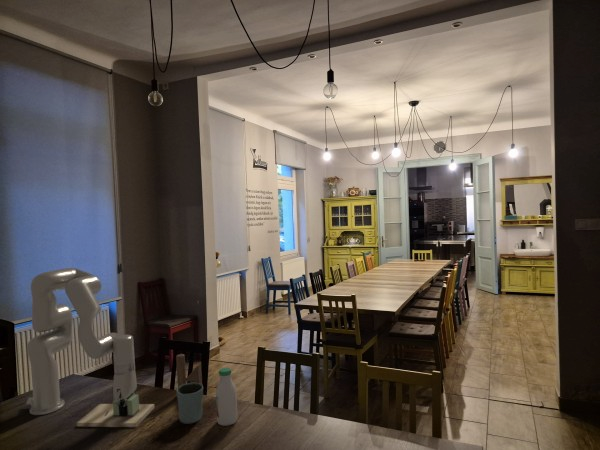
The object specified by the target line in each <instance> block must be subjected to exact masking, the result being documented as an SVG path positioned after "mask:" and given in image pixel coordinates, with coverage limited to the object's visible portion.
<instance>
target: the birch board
mask: <svg viewBox="0 0 600 450" xmlns="http://www.w3.org/2000/svg"><path fill="white" fill-rule="evenodd" d="M154 409H155V404H154V403H139V411H138V412H137V413H136V414H135V415H134V416H133V417H114V414H113V403H100V404H98V405H96V406H95V407H94V408H93V409H91V410H90V411H89V412H88V413H86V415H84V416H83V417H82V418H81V419H79V420H78V421H76V427H88V428H89V427H93V428H94V427H96V428H97V427H98V428H99V427H101V428H104V427H105V428H108V427H109V428H137V427H138V426H139V425H140V423H142V422H143V421H144V420H145V418H146V417H147V416H148V415H150V413H151V412H152V411H153V410H154Z"/></svg>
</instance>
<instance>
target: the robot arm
mask: <svg viewBox="0 0 600 450" xmlns="http://www.w3.org/2000/svg"><path fill="white" fill-rule="evenodd" d="M30 283H31V284H30V291H31V299H32V303H31V304H32V307H31V309H32V311H31V327H32V329H33V331H34V332H36V333H41V334H39V335H36V336H34V337H33V338H31V339H30V340H29V341H28V342H27V345H26V352H27V355H28V359H29V362H30V363H29V364H30V372H31V384H32V397H28V399H27V401H26V403H25V405H27V406H31V407H30V408H29V414H31V415H33V416H43V415H47V414H51V413H54V412H57V411H58V410H60V409H62V408H63V407H64V406H65V399H63V398H61V392H60V378H59V376H60V375H59V365H58V362H57V360H56V359H55V358H54V357H53V355H54V354H57V353H59V352H61V351H64V350H65V349H68V347H69V346H70V345H71V343H72V339H73V321H74V319H73V313H72V310H71V308H70V307H69V306H67V305H66V304H57V297H56V294H55V293H54V292H57V291H62V290H64V291H65V294H66V296H67V297H68V299H69V302H70V303H71V305H72V307H73V309H74V311H75V313H76V315H77V316H78V318H79V322H78V330H77V332H78V333H77V335H78V341H79V342H80V343H79V344H80V345H81V347H82V350H84V352H85V354H86V355H87V356H88V357H89V358H91V359H93V360H98V359H102V358H103V357H105V356H107V355H109V354H112V353H113V355H112V356H113V367H114V374H113V384H112V385H113V389H112V392H113V400H114V399H115V404H117V405H118V407H119V416H127V415H128V411H127V405H126V400H127V397H128V396H130V395H136V390H137V388H138V385H137V384H138V382H137V381H138V380H137V374H136V362H135V345H134V344H135V342H134V336H133V335H131V334H120V333H118V332H109V333H107V334H104V335H102V336H99V337H97V336H96V333H94V329H93V322H94V321H95V318H96V317H97V316H98V315H99V314H100V313H101V312H102V307H101V305H100V303H99V301H98V300H97V297H96V296H95V295H97V294H98V293H100V291H101V290H102V282H101V281H100V279H99V278H98V277H97V276H96V275H94V274H92V273H89V272H87V271H83V270H81V269H79V268H74V267H68V268H67V267H65V268H61V269H55V270H49V271H44V272H42V273H39V274H37V275H35V276H34V278H33V279H32V280H31V282H30ZM121 396H123V398H121ZM121 400H124V402H122V401H121Z"/></svg>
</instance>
